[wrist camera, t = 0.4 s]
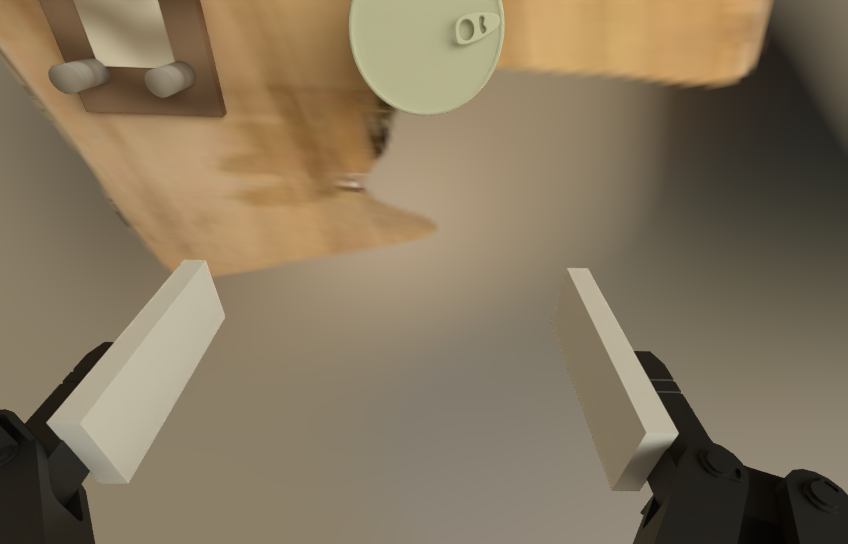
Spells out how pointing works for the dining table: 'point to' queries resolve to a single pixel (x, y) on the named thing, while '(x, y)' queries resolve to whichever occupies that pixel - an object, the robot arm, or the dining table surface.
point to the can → (426, 50)
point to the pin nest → (135, 56)
